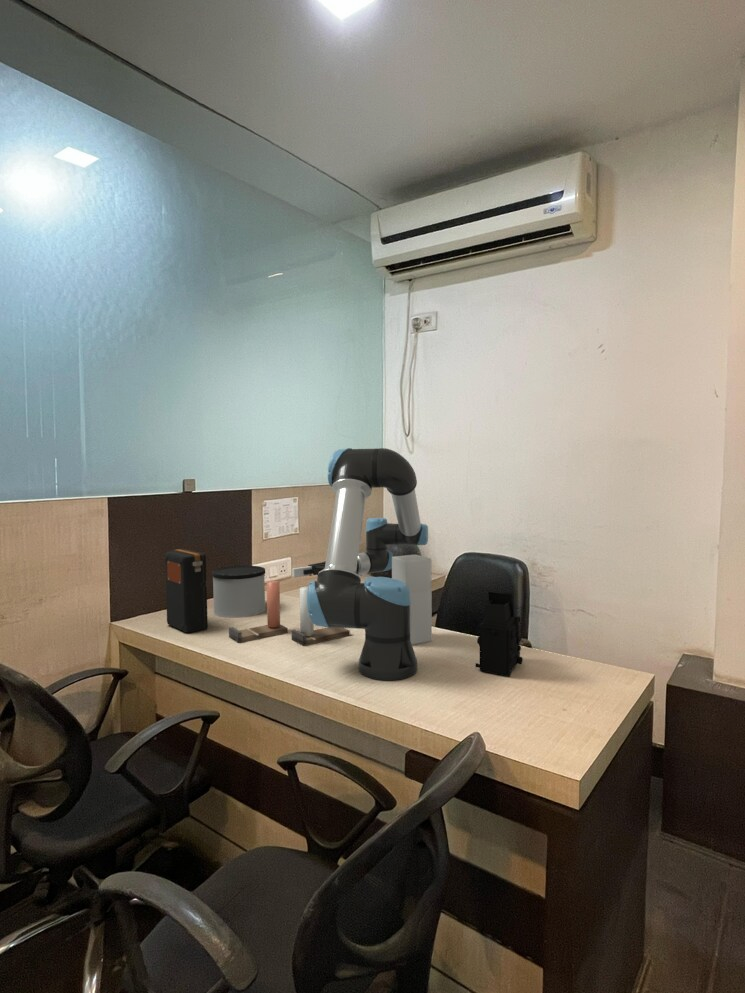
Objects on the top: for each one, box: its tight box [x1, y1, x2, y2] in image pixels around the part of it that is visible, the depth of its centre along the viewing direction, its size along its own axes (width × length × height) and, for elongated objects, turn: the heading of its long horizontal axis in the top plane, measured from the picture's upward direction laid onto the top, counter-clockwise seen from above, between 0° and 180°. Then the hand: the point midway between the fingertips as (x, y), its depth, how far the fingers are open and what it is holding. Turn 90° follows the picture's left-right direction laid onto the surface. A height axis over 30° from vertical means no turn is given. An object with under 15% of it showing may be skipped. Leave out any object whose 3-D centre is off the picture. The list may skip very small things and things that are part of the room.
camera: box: [474, 589, 524, 677], centre depth 143 cm, size 10×14×20 cm
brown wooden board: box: [290, 627, 351, 647], centre depth 169 cm, size 16×9×3 cm, turn 126°
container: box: [211, 565, 266, 619], centre depth 201 cm, size 19×19×15 cm
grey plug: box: [299, 586, 315, 636], centre depth 166 cm, size 4×4×14 cm
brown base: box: [228, 623, 289, 644], centre depth 172 cm, size 16×9×3 cm, turn 126°
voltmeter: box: [164, 548, 209, 634], centre depth 180 cm, size 16×9×25 cm, turn 45°
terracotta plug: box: [266, 580, 281, 627], centre depth 175 cm, size 4×4×14 cm
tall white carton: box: [391, 553, 433, 646], centre depth 166 cm, size 9×9×25 cm
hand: (293, 572), depth 178 cm, fingers closed
